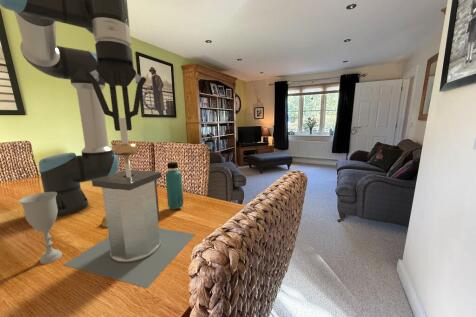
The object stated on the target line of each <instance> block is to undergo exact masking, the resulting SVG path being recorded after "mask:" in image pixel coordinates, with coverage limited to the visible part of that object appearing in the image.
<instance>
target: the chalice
mask: <svg viewBox="0 0 476 317" xmlns="http://www.w3.org/2000/svg"><path fill="white" fill-rule="evenodd" d="M56 195H57V192H44V191H43V192H39V193H34V194H31V195H28V196H24V197H22V198H20V199H19V200H18V202H19V203H20V204H21V205H22V207H23V212H24V217H25V220H26V221H27V223H28V224H29V225H30V226H32V228H33V229H34V230H36V232H40V233H42V232H43V238H42V240H44V241H45V242H44V245H43V246H44V247H46V251H44V253H42V255H41V256H40V260H39V261H40V264H44V265H45V264H50V263H53V262H56V261H57V260H59V259H60V258H62V256H63V253H62V252H61V251H60V249H58V248H53V246H52V245H53V243H54V241H52V240H51V238H52V235H51V234H50V232H49V231H50V230H51V229H52V228H53V227H54V224H55V221H56V220H57V217H58V216H57V213H58V209H57V204H56Z"/></svg>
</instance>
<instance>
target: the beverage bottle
mask: <svg viewBox="0 0 476 317" xmlns="http://www.w3.org/2000/svg"><path fill="white" fill-rule="evenodd" d="M178 168H179V164H178V162H177V161H171V162H170V161H169V162H168V163H167V169H170V170H167V171H166V172H165V174H164V175H165V184H166V199H167V207H168V208H169V209H180V208H182V207H183V206H184V199H185V198H184V193H183V191H184V190H183V178H182V172H181V171H180V170H179V169H178Z"/></svg>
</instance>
